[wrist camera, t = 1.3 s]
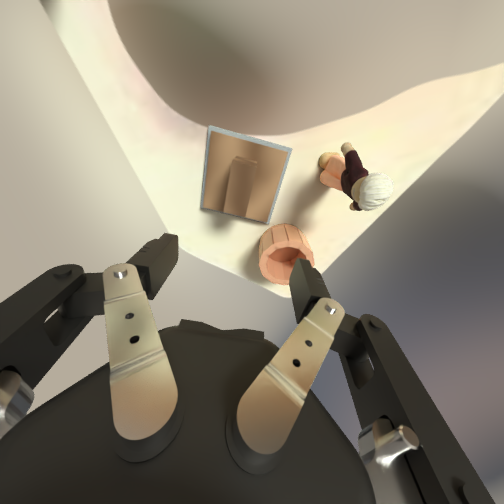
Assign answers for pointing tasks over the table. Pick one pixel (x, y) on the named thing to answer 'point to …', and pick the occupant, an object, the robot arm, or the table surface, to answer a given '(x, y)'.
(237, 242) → the table surface
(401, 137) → the table surface
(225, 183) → the lid
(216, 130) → the mat
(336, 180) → the grandmother figurine
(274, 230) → the bowl
